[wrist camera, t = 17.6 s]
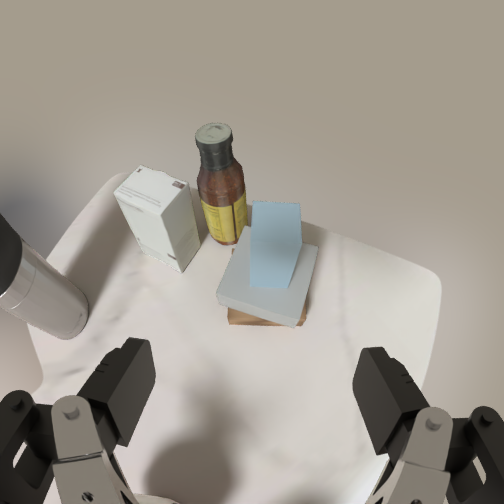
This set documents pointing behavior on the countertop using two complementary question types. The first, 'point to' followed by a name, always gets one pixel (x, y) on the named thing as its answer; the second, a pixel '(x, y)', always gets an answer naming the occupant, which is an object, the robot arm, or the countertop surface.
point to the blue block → (274, 243)
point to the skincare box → (160, 216)
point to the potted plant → (153, 499)
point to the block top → (265, 298)
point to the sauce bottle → (221, 184)
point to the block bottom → (247, 319)
